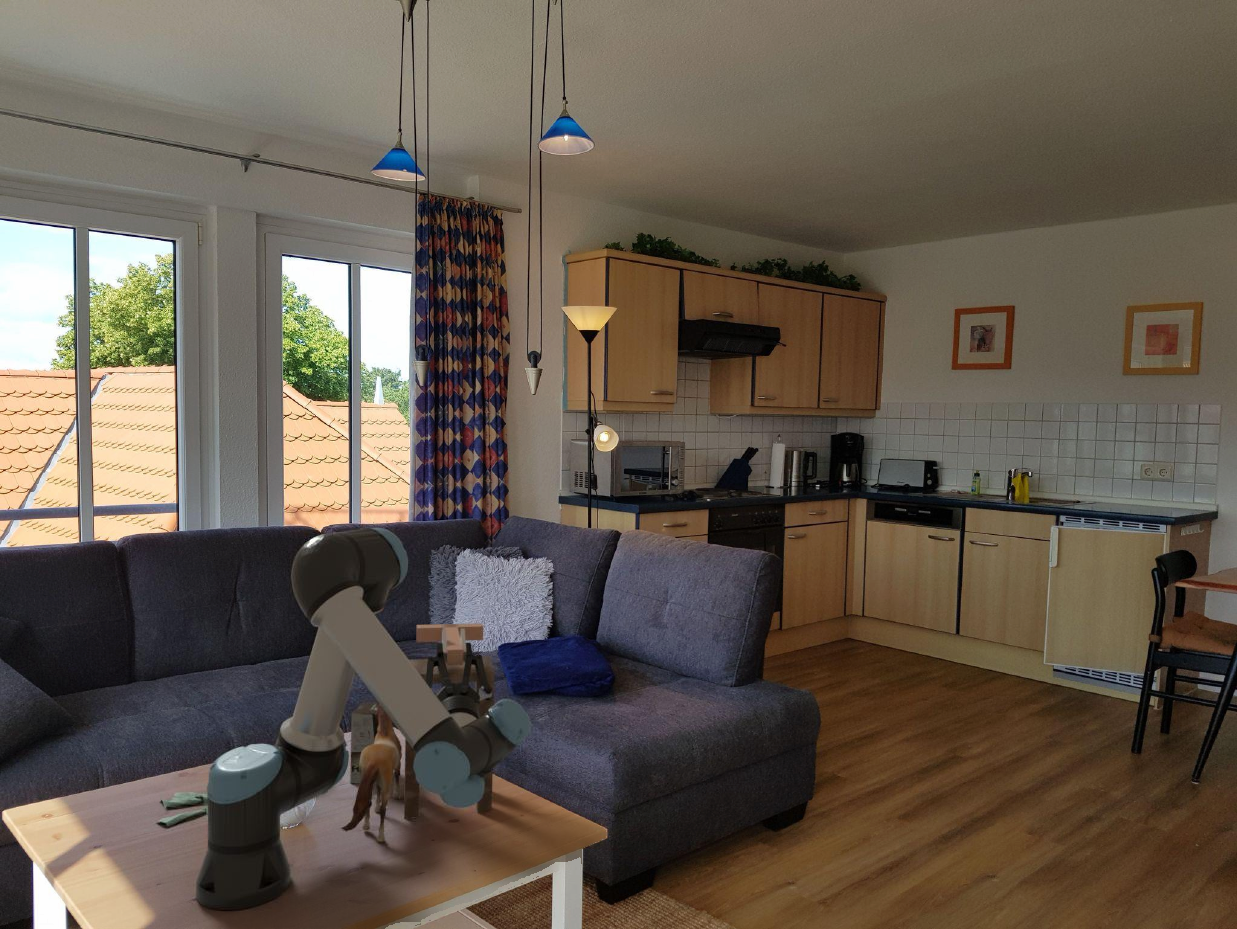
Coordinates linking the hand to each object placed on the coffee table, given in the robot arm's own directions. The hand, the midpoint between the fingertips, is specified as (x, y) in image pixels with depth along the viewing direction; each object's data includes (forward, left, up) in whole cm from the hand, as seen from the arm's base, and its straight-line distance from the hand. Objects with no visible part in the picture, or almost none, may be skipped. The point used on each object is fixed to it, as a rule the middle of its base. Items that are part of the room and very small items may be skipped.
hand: (453, 634), depth 179 cm
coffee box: (-17, +29, -40) cm, 52 cm away
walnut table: (0, +11, -39) cm, 41 cm away
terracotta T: (0, +3, -4) cm, 5 cm away
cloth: (-53, +17, -40) cm, 69 cm away
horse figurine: (-17, +5, -40) cm, 43 cm away
